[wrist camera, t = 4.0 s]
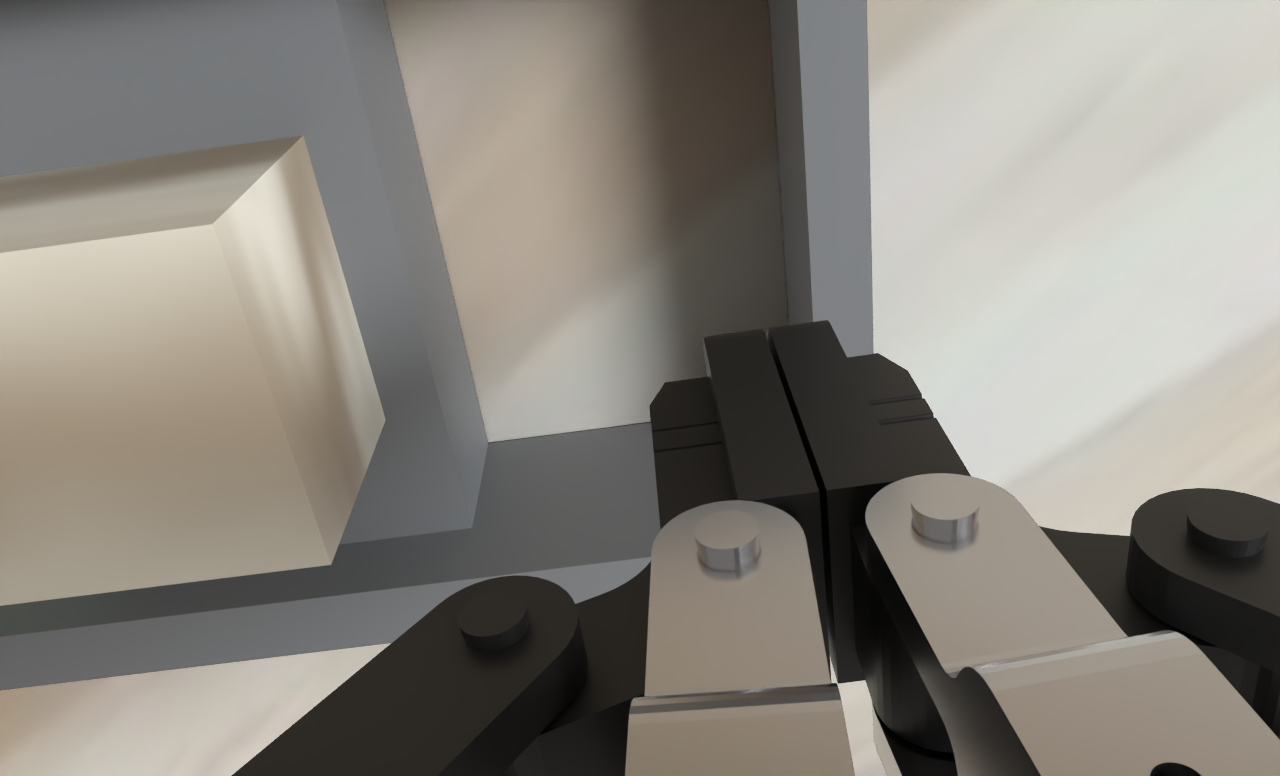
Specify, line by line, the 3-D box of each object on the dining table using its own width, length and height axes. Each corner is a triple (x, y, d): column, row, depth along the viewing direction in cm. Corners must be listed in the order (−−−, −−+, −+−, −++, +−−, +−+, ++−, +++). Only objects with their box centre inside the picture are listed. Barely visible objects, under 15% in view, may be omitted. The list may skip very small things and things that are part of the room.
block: (-20, 180, 15) (-206, 281, 12) (303, 135, 15) (212, 224, 12) (105, 455, 18) (-19, 608, 14) (386, 419, 17) (331, 564, 14)
